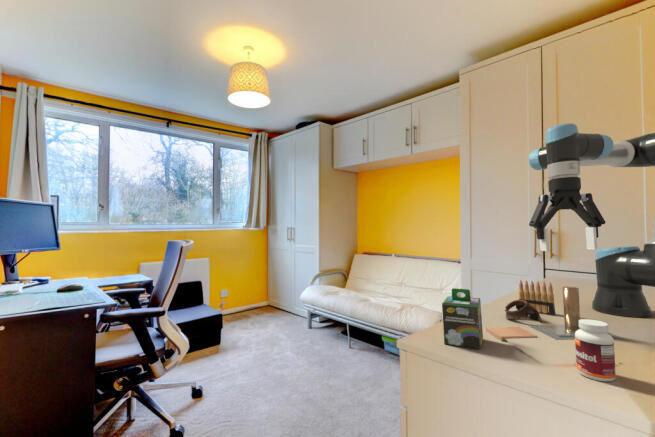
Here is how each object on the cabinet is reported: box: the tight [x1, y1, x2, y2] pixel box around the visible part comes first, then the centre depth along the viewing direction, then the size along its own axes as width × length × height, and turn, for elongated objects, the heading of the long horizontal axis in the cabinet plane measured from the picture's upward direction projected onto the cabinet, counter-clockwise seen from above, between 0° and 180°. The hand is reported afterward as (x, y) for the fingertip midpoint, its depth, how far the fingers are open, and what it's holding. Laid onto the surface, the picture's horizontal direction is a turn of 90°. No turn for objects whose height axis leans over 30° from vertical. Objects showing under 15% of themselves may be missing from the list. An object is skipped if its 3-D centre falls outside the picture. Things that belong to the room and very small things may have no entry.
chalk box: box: [441, 288, 484, 351], centre depth 84 cm, size 9×9×15 cm
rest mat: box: [528, 324, 626, 341], centre depth 87 cm, size 18×12×1 cm, turn 89°
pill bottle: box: [574, 318, 617, 383], centre depth 63 cm, size 6×6×11 cm
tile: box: [485, 326, 538, 342], centre depth 87 cm, size 2×8×10 cm
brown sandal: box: [504, 299, 543, 324], centre depth 100 cm, size 12×10×8 cm
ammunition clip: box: [518, 279, 556, 317], centre depth 107 cm, size 11×2×12 cm, turn 44°
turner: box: [539, 286, 610, 337], centre depth 87 cm, size 14×8×13 cm, turn 89°
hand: (568, 250), depth 88 cm, fingers open, 13 cm apart
